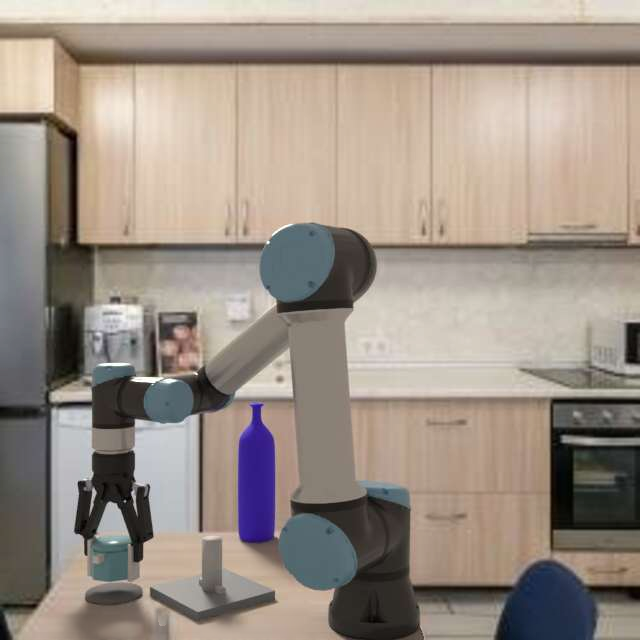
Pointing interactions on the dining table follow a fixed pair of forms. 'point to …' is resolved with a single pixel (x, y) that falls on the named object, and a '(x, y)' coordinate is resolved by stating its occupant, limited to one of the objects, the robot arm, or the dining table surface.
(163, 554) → the dining table surface
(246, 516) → the bottle
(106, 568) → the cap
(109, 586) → the mat
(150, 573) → the dining table surface
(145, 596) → the dining table surface
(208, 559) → the stand
